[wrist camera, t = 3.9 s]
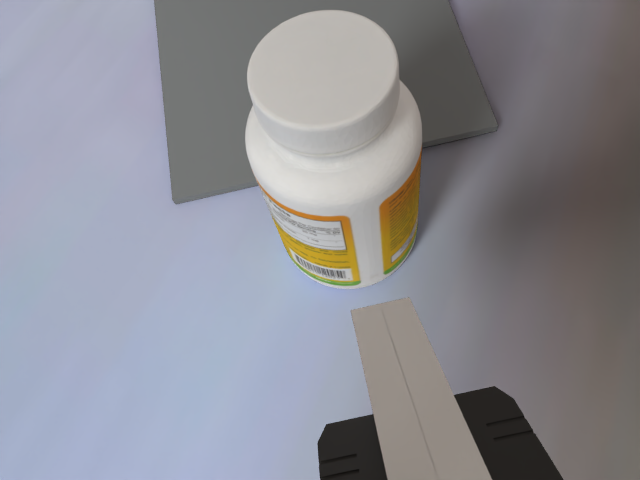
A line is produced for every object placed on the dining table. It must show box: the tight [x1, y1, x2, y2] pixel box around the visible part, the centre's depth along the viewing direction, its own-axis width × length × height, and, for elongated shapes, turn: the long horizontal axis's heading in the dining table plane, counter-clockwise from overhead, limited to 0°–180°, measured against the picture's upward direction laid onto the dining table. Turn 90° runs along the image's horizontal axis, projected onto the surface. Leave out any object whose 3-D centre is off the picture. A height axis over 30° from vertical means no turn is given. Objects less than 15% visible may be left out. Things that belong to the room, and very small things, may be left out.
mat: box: [154, 0, 498, 204], centre depth 28 cm, size 14×14×1 cm
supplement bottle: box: [245, 10, 422, 289], centre depth 20 cm, size 5×5×10 cm
